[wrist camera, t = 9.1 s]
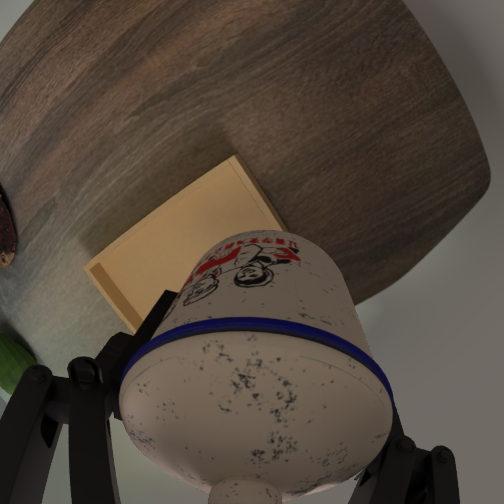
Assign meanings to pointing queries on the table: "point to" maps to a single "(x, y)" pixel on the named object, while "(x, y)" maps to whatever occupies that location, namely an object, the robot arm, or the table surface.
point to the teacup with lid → (259, 376)
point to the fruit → (12, 363)
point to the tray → (179, 238)
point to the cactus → (6, 236)
